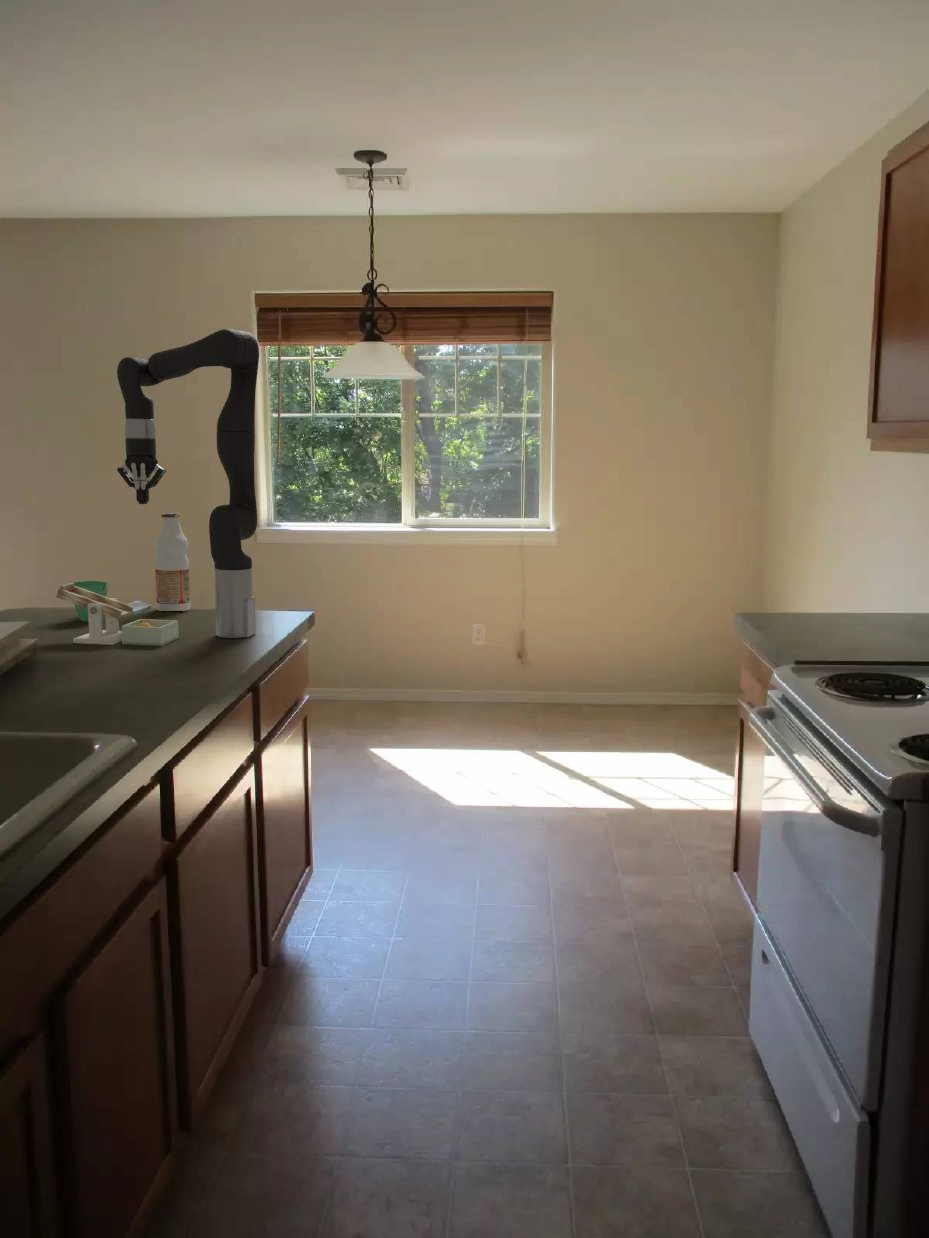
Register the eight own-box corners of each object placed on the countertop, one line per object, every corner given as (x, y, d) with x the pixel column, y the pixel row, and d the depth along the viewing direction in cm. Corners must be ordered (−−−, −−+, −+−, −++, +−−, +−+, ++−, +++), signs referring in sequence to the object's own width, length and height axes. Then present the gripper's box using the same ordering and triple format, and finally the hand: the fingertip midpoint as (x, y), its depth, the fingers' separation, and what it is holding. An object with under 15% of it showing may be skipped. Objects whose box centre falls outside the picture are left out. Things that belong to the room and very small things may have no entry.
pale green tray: (178, 638, 252) (178, 620, 251) (161, 646, 242) (161, 627, 241) (140, 636, 253) (139, 618, 252) (122, 644, 243) (121, 626, 242)
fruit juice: (164, 613, 285) (161, 514, 280) (151, 609, 293) (148, 512, 288) (195, 610, 291) (193, 513, 286) (182, 606, 298) (179, 511, 294)
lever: (150, 608, 260) (153, 598, 260) (120, 620, 244) (123, 608, 243) (90, 587, 261) (92, 576, 261) (56, 597, 245) (59, 585, 244)
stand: (134, 635, 254) (133, 598, 252) (112, 644, 242) (110, 605, 241) (97, 633, 255) (95, 596, 254) (73, 643, 244) (71, 604, 242)
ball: (143, 618, 249) (138, 633, 250) (136, 621, 245) (131, 636, 246) (158, 624, 249) (153, 639, 249) (151, 627, 245) (146, 642, 245)
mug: (107, 622, 271) (106, 585, 269) (68, 623, 268) (66, 586, 266) (112, 613, 285) (110, 578, 283) (75, 614, 282) (73, 578, 280)
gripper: (170, 437, 264) (172, 503, 267) (122, 436, 266) (125, 502, 269) (158, 437, 257) (160, 505, 260) (109, 436, 259) (112, 504, 262)
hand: (142, 503), depth 265 cm, fingers closed
